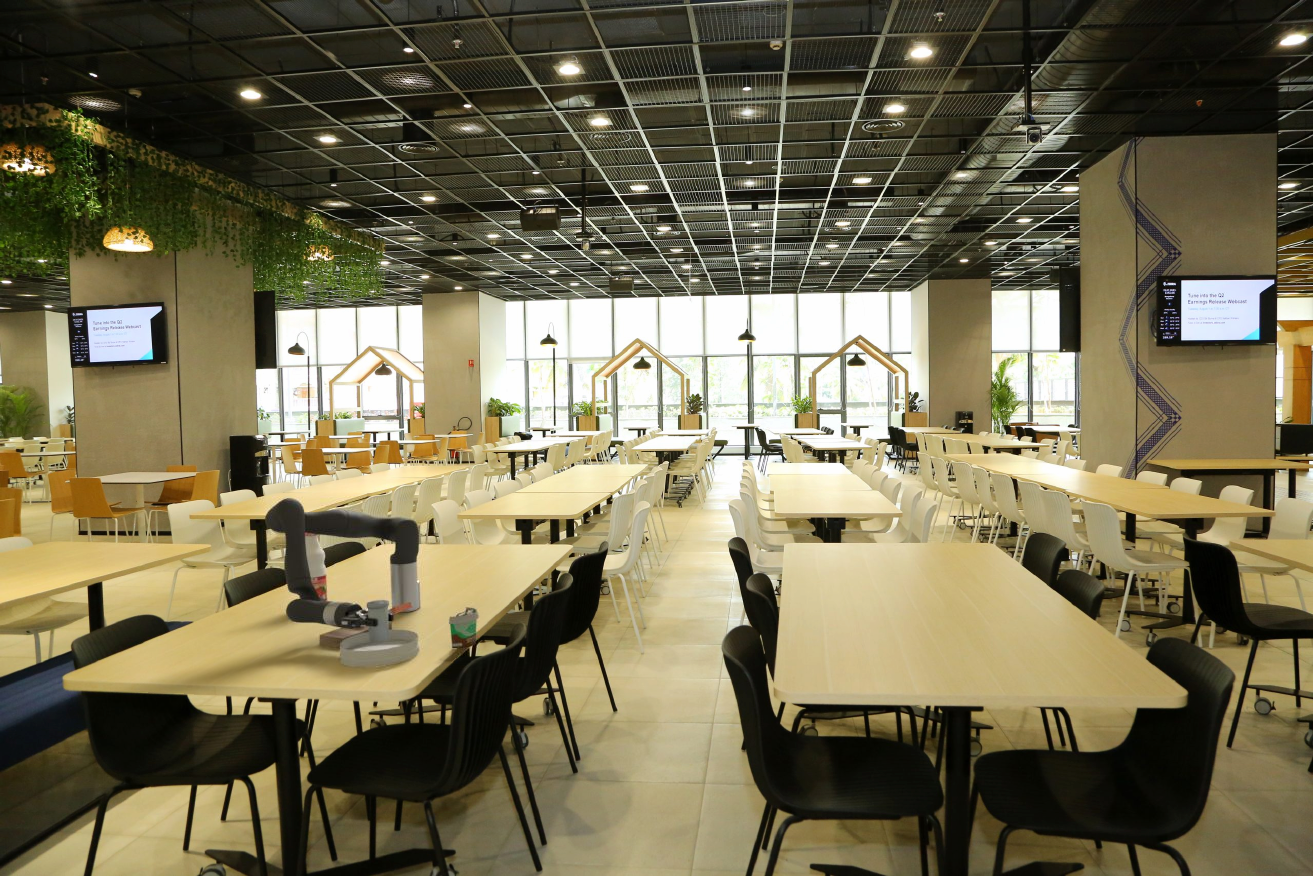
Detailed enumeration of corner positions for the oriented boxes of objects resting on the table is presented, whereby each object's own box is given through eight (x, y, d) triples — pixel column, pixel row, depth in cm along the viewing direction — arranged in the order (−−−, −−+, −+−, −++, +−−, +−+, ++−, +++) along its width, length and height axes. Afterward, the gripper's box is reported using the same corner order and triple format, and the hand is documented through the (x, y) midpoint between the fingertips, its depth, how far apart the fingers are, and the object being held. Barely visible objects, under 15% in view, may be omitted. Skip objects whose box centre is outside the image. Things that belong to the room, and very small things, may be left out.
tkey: (375, 614, 262) (410, 601, 255) (377, 620, 262) (412, 607, 255) (359, 620, 255) (394, 606, 249) (361, 626, 255) (396, 613, 248)
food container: (469, 651, 235) (468, 617, 235) (449, 650, 237) (448, 617, 236) (486, 639, 247) (485, 607, 247) (467, 638, 249) (466, 606, 248)
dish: (374, 673, 219) (373, 655, 218) (323, 662, 230) (322, 644, 230) (435, 651, 237) (434, 634, 237) (385, 641, 249) (384, 626, 249)
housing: (369, 627, 264) (368, 605, 264) (391, 630, 260) (390, 608, 259) (319, 644, 246) (318, 620, 246) (343, 648, 242) (342, 624, 241)
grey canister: (378, 635, 238) (377, 599, 237) (394, 637, 235) (393, 601, 235) (363, 641, 232) (361, 604, 232) (379, 643, 229) (377, 606, 229)
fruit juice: (327, 603, 300) (324, 529, 299) (327, 609, 291) (324, 533, 290) (300, 606, 296) (297, 531, 295) (299, 612, 288) (296, 535, 286)
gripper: (323, 608, 233) (365, 613, 226) (361, 597, 246) (402, 601, 239) (324, 633, 233) (366, 639, 226) (361, 621, 246) (403, 626, 239)
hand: (384, 620), depth 232 cm, fingers closed on grey canister, 5 cm apart
